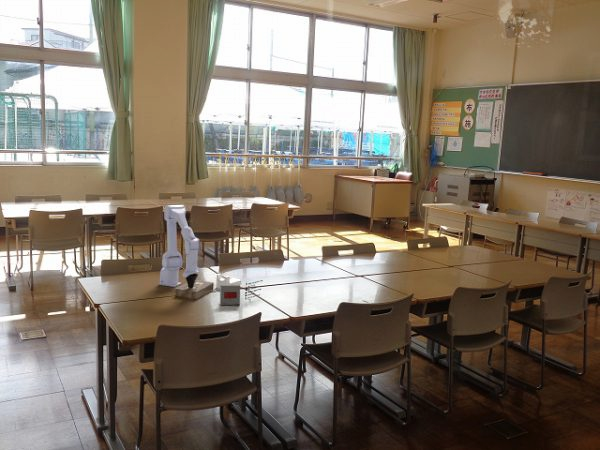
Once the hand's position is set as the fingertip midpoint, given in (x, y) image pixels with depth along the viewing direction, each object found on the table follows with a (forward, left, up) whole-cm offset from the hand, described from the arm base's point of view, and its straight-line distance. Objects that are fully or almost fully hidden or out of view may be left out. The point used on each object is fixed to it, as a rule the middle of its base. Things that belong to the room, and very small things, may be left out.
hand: (190, 287), depth 288 cm
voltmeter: (+27, +3, -4) cm, 27 cm away
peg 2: (0, +10, -4) cm, 11 cm away
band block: (0, +5, -4) cm, 6 cm away
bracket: (+11, +25, -4) cm, 27 cm away
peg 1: (0, 0, -4) cm, 4 cm away
